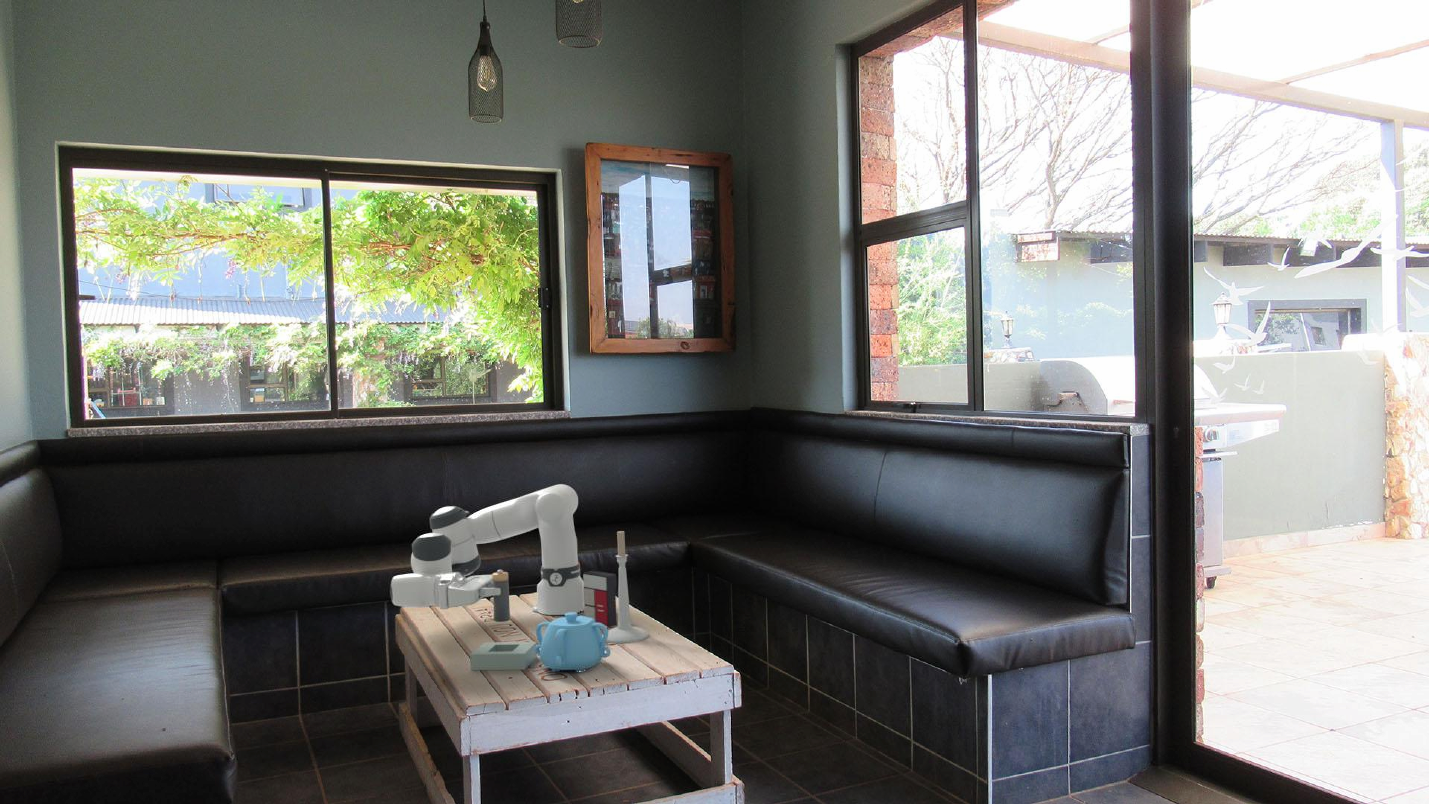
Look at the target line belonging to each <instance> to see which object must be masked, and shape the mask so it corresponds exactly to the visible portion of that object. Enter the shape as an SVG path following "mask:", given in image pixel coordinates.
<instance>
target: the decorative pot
mask: <svg viewBox="0 0 1429 804" xmlns="http://www.w3.org/2000/svg"><path fill="white" fill-rule="evenodd" d="M578 613H579V612H577V613H576V612H569V613H566V614H564V616H562V617H557V618H555V619H553V620H552V621H542V622H541V623H539V624H538V625H537V626H536V628H535V635H536V638H537V642H538V645H537V647H536V649H535V652H536V654H537V656H539V660H540V661H541V663H542V665H543V666H544V667H545V668H548V669H551V670H552V671H551V672H553V671H557V672H561V671H569V670H570V671H573V670H574V671H575V672H576V671H578V672H577V673H580V672H579V671H584V670H586V671H587V669H590V668H593V667H595V666H596V665H597V664H599V663H600V662H601V660H602V659H606V658H608V657H610V655H611V649H610V648H609V647H608V646H606V645H607V643H608V642H607V638H608V627H606V626H605V625H604V624H602V623H596V622H595V620H594V619H593V618H590V617H585V616H584V615H578ZM542 627H546V629H545V631H544V634H543V633H542ZM601 630H602V631H601ZM602 632H603V634H602ZM542 634H543V635H542ZM602 635H603V637H602ZM605 652H606V653H605ZM560 670H561V671H560Z"/></svg>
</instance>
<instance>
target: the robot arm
mask: <svg viewBox="0 0 1429 804" xmlns="http://www.w3.org/2000/svg"><path fill="white" fill-rule="evenodd" d="M578 507H579V496H578V494H577V492H576V490H574V488H572V487H571V486H570V485H567V484H562V483H561V484H559V483H558V484H555V485H552V486H549V487H546V488H542V489H539V490H536V491H534V492H531V493H528V494H525V495H521V496H520V497H517V498H516V497H515V498H512V499H509V500H507V501H504V502H499V503H497V504H494V505H491V506H488V507H485V508H482V509H480V510H479V511H476V512H473V514H472V513H470V511H467V510H464V509H463V508H461V507H459V506H455V505H453V506H451V505H450V506H444V507H441V508H439V509H437V510H436V511H434V513H432V514H431V515H430V517H429V526H430V529H431V530H432V532H429V533H425V534H422V535H419V536H417V538H416V539H414V541H413V542H412V543H411V550H412V553H411V557H410V567H411V570H412V572H413V573H406V574H399V575H395V576H393V577H392V579H391V581H390V586H389V588H390V589H389V594H390V599H391V602H392V604H393V605H394V606H398V607H404V608H417V609H418V608H421V609H423V608H430V607H431V608H432V607H435V608H439V609H440V610H447V609H450V608H458V607H466V606H472V605H474V604H477V603H478V602H479V601H481V600H482V599H483V598H487V597H493V595H500V594H501V593H502V588H501V587H494V588H493V581H492V574H481V575H480V574H479V575H471V574H473V573H474V572H475V571H477V570H478V569H479V568H480V566H481V561H482V560H481V555H480V553H479V551H478V546H477V545H479V544H487V543H488V544H489V543H494V542H497V541H502V540H505V539H510V538H511V537H514V536H518V535H521V534H525V533H527V532H531V531H533V530H535V529H538V531H539V536H540V543H541V564H542V565H541V567H540V574H541V575H540V577H541V579H540V582H539V583H538V584H537V585H536V605H534V606H532V612H536V613H537V612H538V613H539V614H542V615H546V616H547V615H548V616H562V615H564V616H565V614H566V613H569V612H576V613H581V612H584V606H585V604H584V592H583V589H584V581H583V577H581V567H580V566H581V563H580V562H579V557H578V538H577V536H576V535H577V534H576V531H575V525H574V523H575V522H574V516H573V515H574V513H576V510H577V508H578ZM467 516H468V517H467ZM470 575H471V576H470ZM466 576H468V577H466ZM580 611H581V612H580Z"/></svg>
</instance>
